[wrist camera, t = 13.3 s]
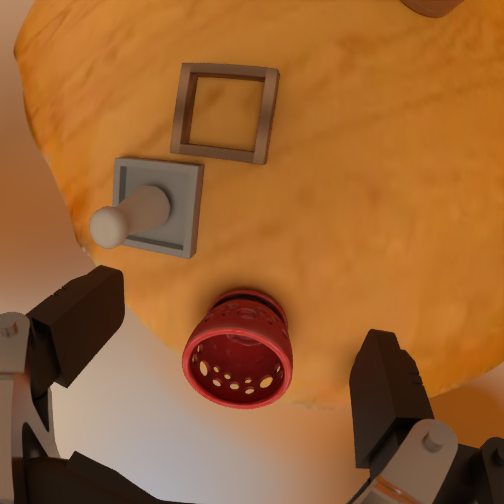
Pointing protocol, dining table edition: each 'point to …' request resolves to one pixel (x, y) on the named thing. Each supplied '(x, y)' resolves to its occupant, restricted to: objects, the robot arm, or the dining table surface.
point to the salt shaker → (130, 217)
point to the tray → (178, 193)
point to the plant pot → (240, 350)
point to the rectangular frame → (186, 104)
